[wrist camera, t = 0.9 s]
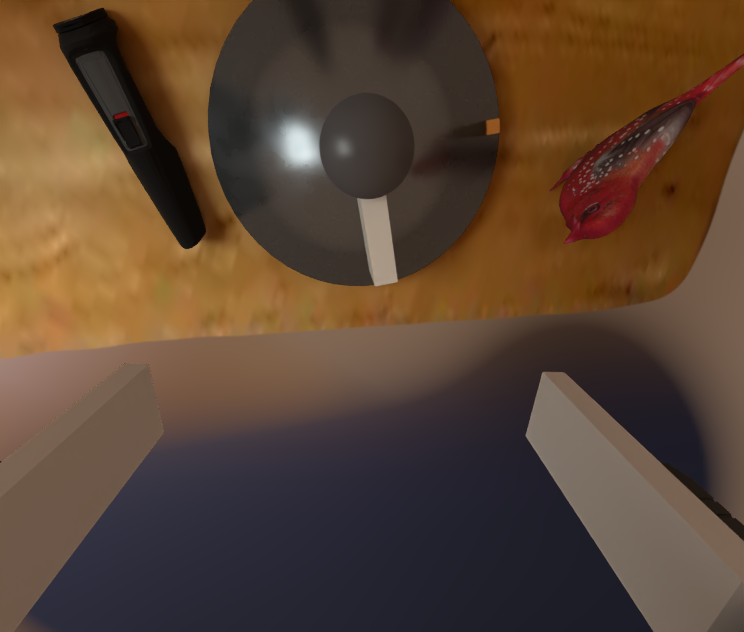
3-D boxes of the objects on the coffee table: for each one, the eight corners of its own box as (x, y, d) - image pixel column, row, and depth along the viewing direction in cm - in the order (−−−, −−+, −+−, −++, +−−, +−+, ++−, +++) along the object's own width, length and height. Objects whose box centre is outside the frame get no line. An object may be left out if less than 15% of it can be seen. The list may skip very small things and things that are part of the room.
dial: (312, 111, 25) (309, 101, 20) (394, 97, 25) (408, 84, 20) (345, 275, 30) (349, 296, 26) (412, 262, 30) (427, 281, 26)
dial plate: (164, -4, 23) (152, -16, 21) (489, -55, 23) (501, -71, 22) (263, 300, 32) (260, 308, 30) (492, 256, 33) (500, 261, 31)
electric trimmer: (180, 246, 30) (164, 256, 27) (59, 25, 23) (21, 8, 20) (221, 233, 30) (210, 242, 27) (112, 8, 23) (82, -13, 20)
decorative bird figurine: (502, 213, 31) (573, 236, 22) (677, 44, 27) (849, -10, 18) (520, 235, 32) (594, 265, 23) (690, 76, 28) (859, 39, 19)
